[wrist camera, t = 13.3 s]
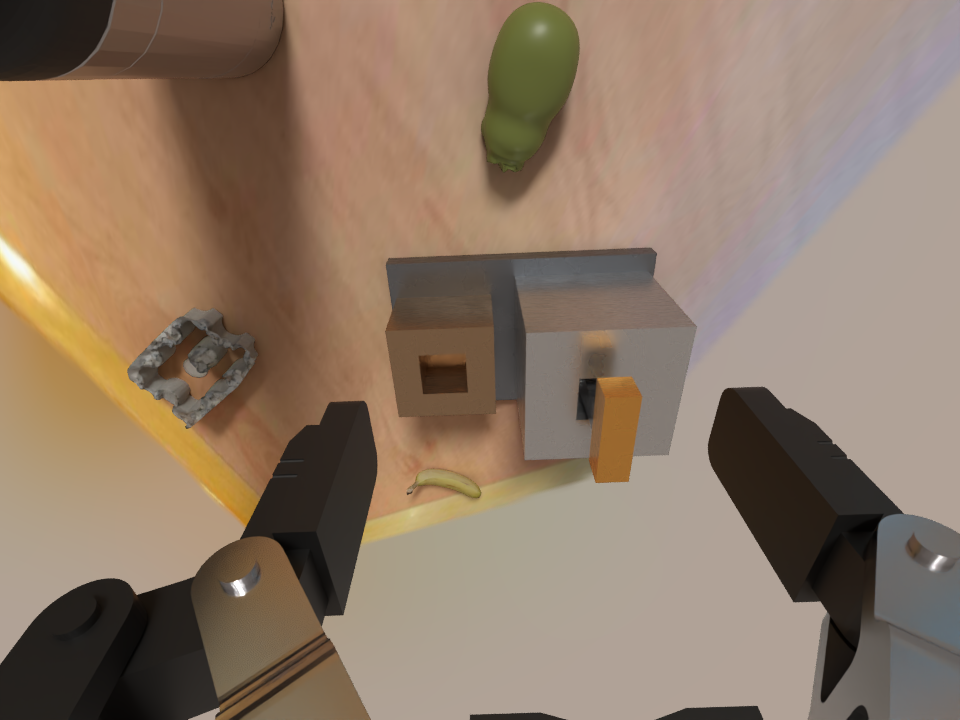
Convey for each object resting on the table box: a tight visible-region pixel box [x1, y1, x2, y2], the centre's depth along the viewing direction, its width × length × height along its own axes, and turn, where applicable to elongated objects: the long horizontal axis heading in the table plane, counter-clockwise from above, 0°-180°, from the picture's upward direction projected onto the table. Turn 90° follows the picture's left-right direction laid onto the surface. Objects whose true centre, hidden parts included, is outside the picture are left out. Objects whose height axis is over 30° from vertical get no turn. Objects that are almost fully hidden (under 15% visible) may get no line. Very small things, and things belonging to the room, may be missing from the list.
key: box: [579, 376, 642, 483], centre depth 34 cm, size 7×2×8 cm, turn 3°
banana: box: [407, 469, 481, 498], centre depth 51 cm, size 8×2×4 cm, turn 72°
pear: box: [481, 2, 580, 172], centre depth 32 cm, size 6×5×10 cm
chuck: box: [385, 248, 697, 460], centre depth 38 cm, size 22×14×12 cm, turn 92°
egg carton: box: [128, 308, 258, 429], centre depth 43 cm, size 11×8×4 cm
